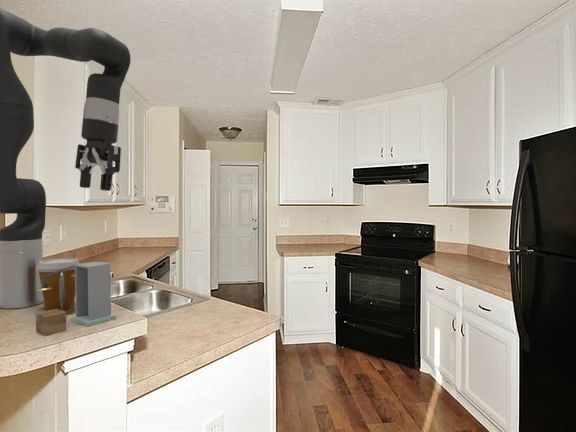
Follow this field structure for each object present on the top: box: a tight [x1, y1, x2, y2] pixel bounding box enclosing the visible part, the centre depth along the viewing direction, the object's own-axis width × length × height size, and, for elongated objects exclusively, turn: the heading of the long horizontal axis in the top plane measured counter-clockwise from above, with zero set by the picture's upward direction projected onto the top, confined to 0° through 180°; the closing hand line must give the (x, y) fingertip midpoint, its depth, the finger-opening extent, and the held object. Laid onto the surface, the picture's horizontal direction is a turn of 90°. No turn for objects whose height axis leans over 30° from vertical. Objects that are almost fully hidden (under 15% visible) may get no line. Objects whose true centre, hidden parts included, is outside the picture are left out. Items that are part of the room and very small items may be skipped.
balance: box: [36, 264, 76, 316], centre depth 86 cm, size 4×11×12 cm, turn 148°
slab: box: [70, 313, 117, 327], centre depth 82 cm, size 7×6×1 cm
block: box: [35, 309, 67, 337], centre depth 74 cm, size 4×4×4 cm
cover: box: [75, 261, 112, 321], centre depth 82 cm, size 6×5×12 cm
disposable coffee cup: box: [36, 257, 81, 311], centre depth 92 cm, size 10×10×12 cm
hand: (94, 189), depth 85 cm, fingers open, 8 cm apart
